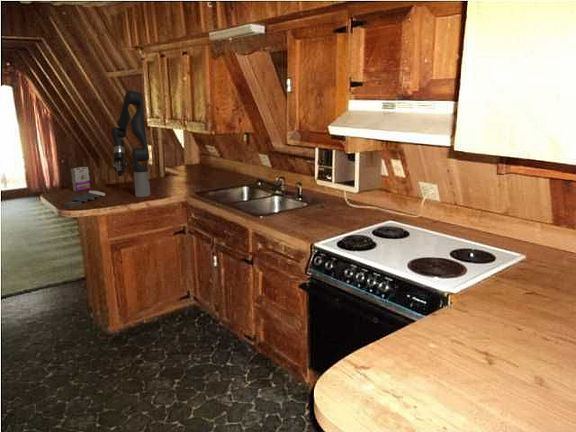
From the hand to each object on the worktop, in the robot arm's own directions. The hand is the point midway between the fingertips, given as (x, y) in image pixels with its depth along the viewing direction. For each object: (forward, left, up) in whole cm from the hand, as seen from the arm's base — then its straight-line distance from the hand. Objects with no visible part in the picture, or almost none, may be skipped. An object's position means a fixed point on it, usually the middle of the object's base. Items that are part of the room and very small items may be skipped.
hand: (119, 176), depth 328 cm
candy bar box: (+28, -1, -11) cm, 31 cm away
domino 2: (+13, +32, -10) cm, 36 cm away
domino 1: (+14, +37, -10) cm, 41 cm away
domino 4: (+10, +20, -10) cm, 25 cm away
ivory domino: (+8, +15, -10) cm, 20 cm away
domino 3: (+10, +27, -10) cm, 30 cm away
